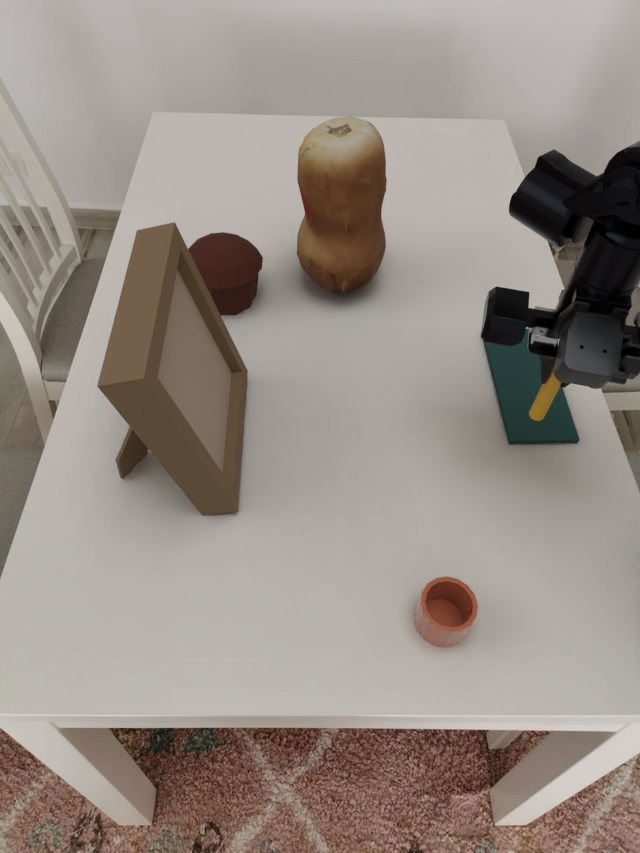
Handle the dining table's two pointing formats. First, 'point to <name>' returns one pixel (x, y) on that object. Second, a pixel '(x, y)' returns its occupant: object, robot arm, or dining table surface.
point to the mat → (527, 397)
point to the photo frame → (176, 374)
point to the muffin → (228, 270)
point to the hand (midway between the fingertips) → (552, 382)
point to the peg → (545, 396)
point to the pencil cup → (445, 611)
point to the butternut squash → (342, 203)
